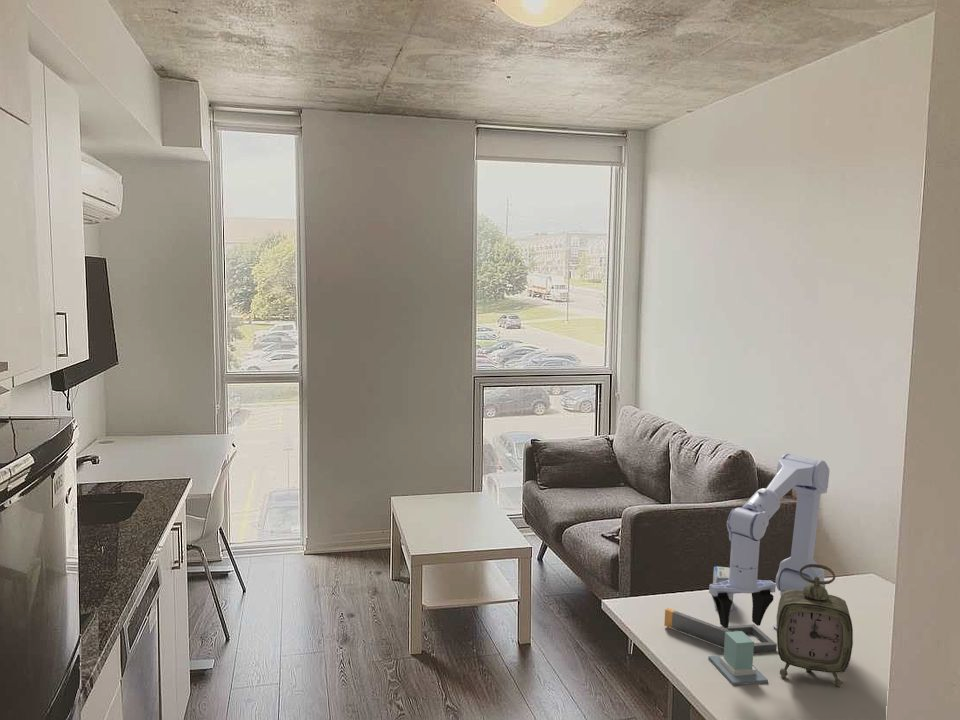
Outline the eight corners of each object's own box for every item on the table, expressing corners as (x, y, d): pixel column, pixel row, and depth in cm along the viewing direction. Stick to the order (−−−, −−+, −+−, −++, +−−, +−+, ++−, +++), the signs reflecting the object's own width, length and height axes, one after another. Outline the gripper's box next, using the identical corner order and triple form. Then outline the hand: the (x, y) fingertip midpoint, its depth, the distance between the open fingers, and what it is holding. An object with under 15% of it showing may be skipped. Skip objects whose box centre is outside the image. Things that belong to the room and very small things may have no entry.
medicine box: (732, 611, 193) (734, 578, 192) (714, 609, 194) (716, 577, 193) (729, 598, 201) (730, 567, 200) (711, 596, 202) (713, 565, 201)
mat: (741, 656, 170) (741, 653, 170) (767, 682, 159) (767, 679, 159) (708, 658, 169) (708, 656, 169) (732, 685, 158) (732, 682, 158)
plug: (741, 659, 167) (743, 629, 167) (755, 674, 161) (758, 643, 161) (719, 661, 167) (721, 631, 166) (733, 675, 160) (735, 644, 160)
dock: (753, 630, 183) (754, 624, 183) (776, 650, 173) (776, 644, 173) (719, 632, 181) (719, 626, 181) (740, 653, 172) (740, 646, 171)
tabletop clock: (773, 678, 161) (781, 566, 158) (773, 659, 169) (780, 551, 166) (848, 693, 156) (858, 577, 153) (844, 672, 164) (853, 561, 162)
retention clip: (667, 624, 184) (668, 605, 184) (740, 652, 171) (741, 632, 171) (664, 626, 183) (665, 607, 183) (737, 654, 170) (738, 634, 170)
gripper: (764, 555, 167) (760, 614, 168) (703, 559, 164) (700, 618, 165) (782, 567, 160) (778, 628, 161) (720, 571, 157) (716, 633, 158)
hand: (740, 624), depth 163 cm, fingers open, 7 cm apart
